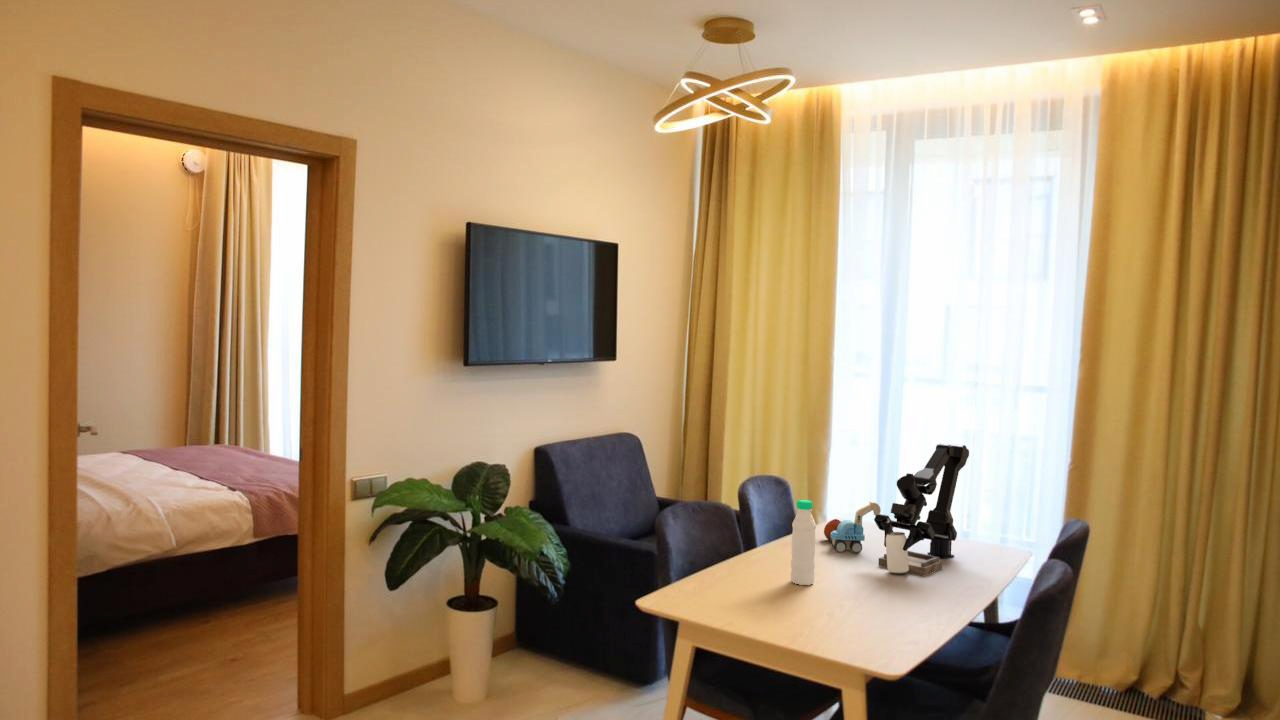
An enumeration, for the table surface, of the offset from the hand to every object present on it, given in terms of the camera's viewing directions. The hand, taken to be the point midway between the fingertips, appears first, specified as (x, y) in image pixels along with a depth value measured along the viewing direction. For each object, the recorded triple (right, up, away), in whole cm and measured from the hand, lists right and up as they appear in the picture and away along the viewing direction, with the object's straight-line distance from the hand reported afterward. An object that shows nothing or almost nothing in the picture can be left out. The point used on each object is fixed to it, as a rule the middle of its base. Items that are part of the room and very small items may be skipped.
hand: (894, 548), depth 287 cm
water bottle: (-31, -8, -12) cm, 34 cm away
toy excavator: (-6, -7, +29) cm, 30 cm away
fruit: (-9, -6, +42) cm, 43 cm away
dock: (+7, -8, +8) cm, 14 cm away
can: (+1, -8, +1) cm, 8 cm away
